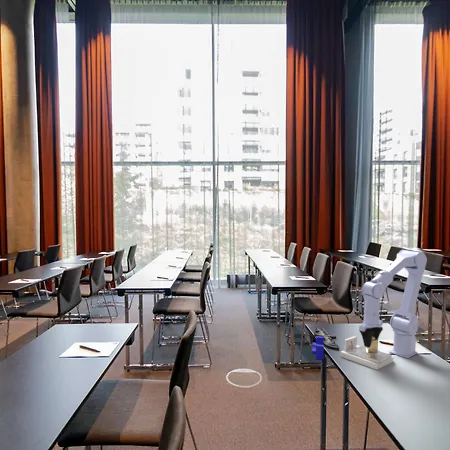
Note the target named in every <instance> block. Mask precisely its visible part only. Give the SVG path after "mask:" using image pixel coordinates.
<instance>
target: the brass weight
mask: <svg viewBox="0 0 450 450" xmlns="http://www.w3.org/2000/svg"><path fill="white" fill-rule="evenodd" d="M378 351H379V338H378V339H376V338H375V337H374V336H372V339H371V345H370V347H366V352H368V353H371V354H377V353H378Z"/></svg>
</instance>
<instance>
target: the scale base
mask: <svg viewBox="0 0 450 450" xmlns="http://www.w3.org/2000/svg"><path fill="white" fill-rule="evenodd" d="M357 343H358V336H356V335H353V336H351V337H347V338H346V339H344V340H343V350H341V351H340V352H339V357H340V358H343V359H346V360H349V361H351V362H354V363H356V364H359V365H362V366H365V367H368V368H371V369H374V370H379V369H382V368H383V367H385V366H388V365H390V364H392V363H393V362H394V356H392V357H391V358H389V359H387V360H385V361H383V362H381V363H377V362H374V361H371V360H368V359H365V358H362V357H359V356H357V355H354V354H351V353H349V351H350V350H352V349H355V348H358V347H360V346H361V345H359V344H357Z"/></svg>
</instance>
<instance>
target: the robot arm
mask: <svg viewBox="0 0 450 450" xmlns="http://www.w3.org/2000/svg"><path fill="white" fill-rule="evenodd" d="M427 261H428V258H427V256H426V254H425V252H423V251H415V250H407V249H401V250H399V252H398V253H397V254H396V258H395V260H394V261H393V262H392V263H391V264H390V266H388V268H387V269H386V270H380V271H379V272H378V274H377V275H376V276H374V277H373V278H372V279H371V280H369V281H367V282H364V284H363V285H362V287H361V292H362V296H363V299H364V304H363V305H364V307H363V308H364V309H363V310H364V311H363V322H362V323H361V324H359V327H358V330H359V333H360V335H361V337H362V341H363V346H364V347H370V345H371V339H372V336H374V337H375V338H376V339H378V340H379V337H380V335H381V333H382V331H383V330H384V329H383V324H384V323H383V322H384V321H383V320H381V319H380V307H381V298H382V297H383V296H384V294H385V291H386V288H387V287H388V286H390V284H391V283H393V281H394V276H395V275H397V274H398V273H399V272H400V271H402V270H403V269H405V270H406V271H407V272H408V276H407V279H406V283H405V288H404V292H403V295H402V299H401V303H400V307H399V308H398V309H396V310H394V311H393V314H392V316H391V318H390V321H389V324H390V328H392V331H393V349H391V350H389V353H390V354H393V355H396V356H400V357H402V358H406V359H409V358H410V357H412V356H415V355H417V354H418V353H419V352H418V351H416V344H417V337H416V333H417V332H418V329H419V318H418V316H417V315H416V314H415V312H414V311H415V308H416V303H417V300H418V296H419V292H420V288H421V284H422V280H423V276H424V273H425V270H426V266H427Z"/></svg>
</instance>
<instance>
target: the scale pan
mask: <svg viewBox="0 0 450 450" xmlns="http://www.w3.org/2000/svg"><path fill="white" fill-rule="evenodd" d="M359 346H360V347H358V348H355V349H352V350H350V351H349V353H351V354H354V355H357V356H359V357H362V358H365V359H368V360H371V361H374V362H377V363H381V362H383V361H385V360H387V359H389V358H391V357H392V354H389V353H385V352H382V351H380V350H378V353H377V354H371V353H368V352H366V347H365V346H364V345H359Z"/></svg>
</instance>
